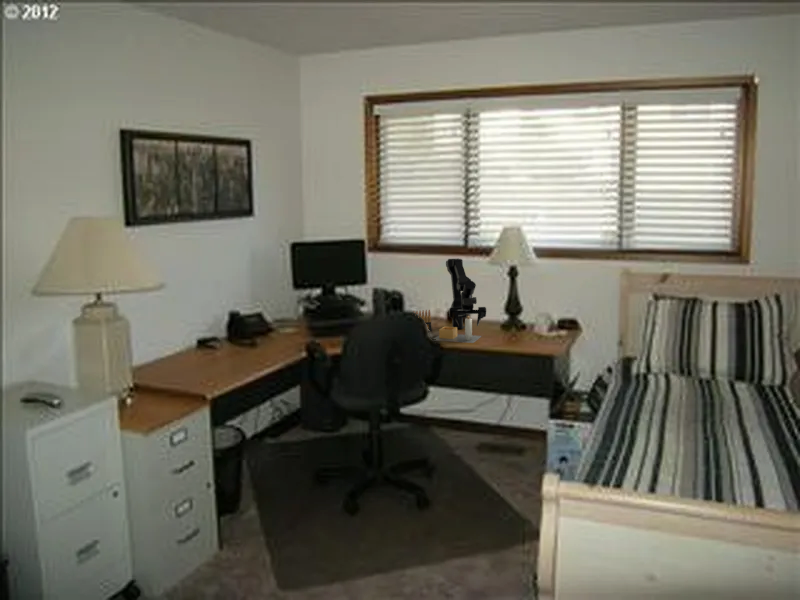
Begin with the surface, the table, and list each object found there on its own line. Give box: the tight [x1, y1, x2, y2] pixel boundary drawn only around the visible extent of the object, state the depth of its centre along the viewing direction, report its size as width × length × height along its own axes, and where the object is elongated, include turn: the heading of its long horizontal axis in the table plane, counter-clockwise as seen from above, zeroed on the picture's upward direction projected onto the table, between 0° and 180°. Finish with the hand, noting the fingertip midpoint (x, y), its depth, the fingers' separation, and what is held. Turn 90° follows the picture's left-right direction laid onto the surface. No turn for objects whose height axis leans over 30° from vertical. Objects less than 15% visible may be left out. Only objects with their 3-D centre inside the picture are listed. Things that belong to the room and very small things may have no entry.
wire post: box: [464, 315, 473, 341], centre depth 354 cm, size 4×4×12 cm
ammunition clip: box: [412, 309, 433, 332], centre depth 380 cm, size 11×2×12 cm, turn 107°
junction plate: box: [433, 326, 482, 344], centre depth 360 cm, size 16×22×6 cm
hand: (468, 325), depth 354 cm, fingers open, 9 cm apart
